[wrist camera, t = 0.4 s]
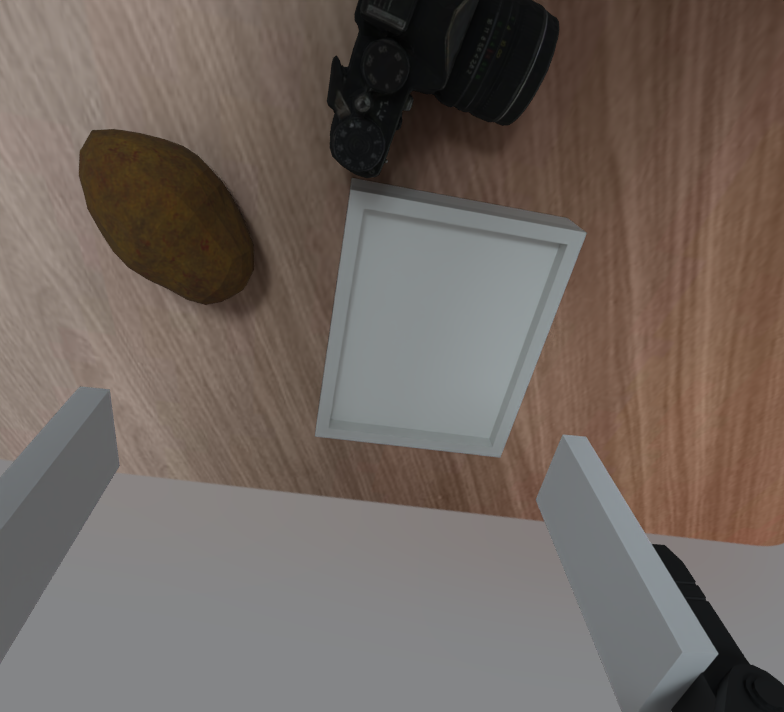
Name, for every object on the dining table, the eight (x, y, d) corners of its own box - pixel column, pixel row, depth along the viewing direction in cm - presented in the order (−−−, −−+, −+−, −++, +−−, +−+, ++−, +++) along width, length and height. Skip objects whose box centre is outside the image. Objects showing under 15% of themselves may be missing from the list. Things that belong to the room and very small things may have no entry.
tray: (351, 177, 35) (350, 189, 32) (567, 217, 37) (586, 232, 34) (318, 409, 45) (314, 436, 42) (490, 430, 47) (500, 457, 44)
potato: (220, 302, 39) (192, 352, 33) (74, 179, 34) (4, 208, 27) (293, 233, 37) (277, 270, 30) (146, 89, 32) (89, 96, 25)
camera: (458, 196, 36) (488, 238, 28) (315, 134, 34) (299, 160, 25) (562, -27, 30) (644, -63, 21) (397, -124, 27) (413, -208, 19)
